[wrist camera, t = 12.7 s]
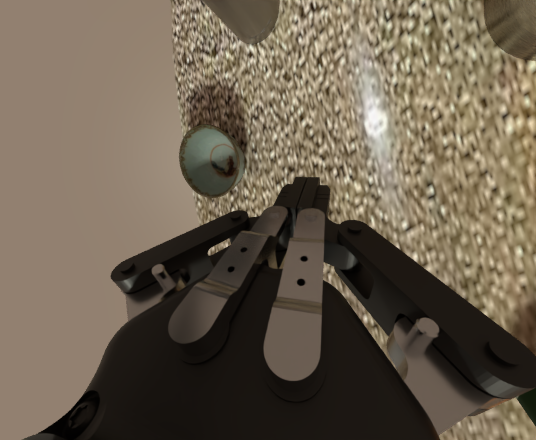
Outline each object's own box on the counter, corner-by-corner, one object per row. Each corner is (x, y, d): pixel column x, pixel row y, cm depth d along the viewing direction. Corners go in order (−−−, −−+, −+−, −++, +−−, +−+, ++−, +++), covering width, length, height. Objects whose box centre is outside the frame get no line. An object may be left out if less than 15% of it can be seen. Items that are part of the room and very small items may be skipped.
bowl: (256, 193, 46) (240, 201, 39) (206, 189, 51) (183, 195, 44) (255, 127, 42) (237, 123, 35) (200, 128, 46) (174, 125, 39)
